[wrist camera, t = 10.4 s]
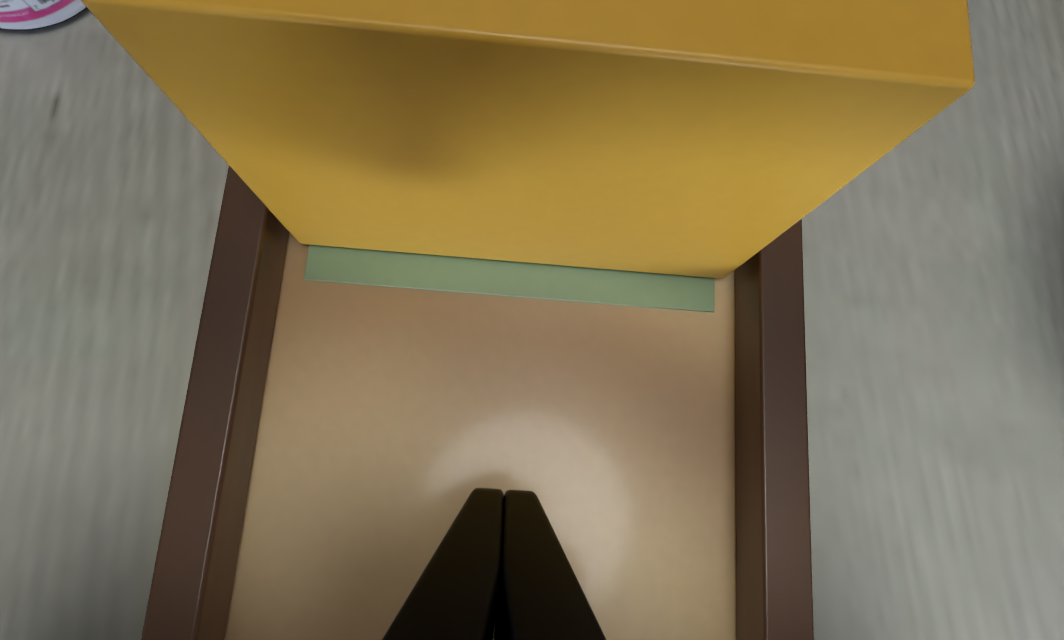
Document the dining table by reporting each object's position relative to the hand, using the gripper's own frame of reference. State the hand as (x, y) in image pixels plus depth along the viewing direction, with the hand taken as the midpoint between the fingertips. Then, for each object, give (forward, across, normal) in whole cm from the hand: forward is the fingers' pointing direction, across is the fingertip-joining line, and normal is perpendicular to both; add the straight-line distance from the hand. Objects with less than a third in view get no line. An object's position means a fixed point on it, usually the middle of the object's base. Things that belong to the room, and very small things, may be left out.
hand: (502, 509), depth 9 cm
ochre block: (+9, 0, -2) cm, 10 cm away
